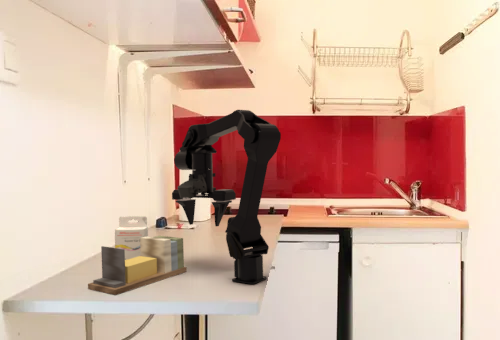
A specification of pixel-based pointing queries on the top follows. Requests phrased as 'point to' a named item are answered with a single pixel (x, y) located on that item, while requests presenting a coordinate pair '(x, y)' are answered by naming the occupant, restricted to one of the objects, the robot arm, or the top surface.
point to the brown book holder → (154, 247)
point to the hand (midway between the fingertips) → (203, 225)
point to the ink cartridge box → (131, 235)
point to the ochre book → (139, 268)
